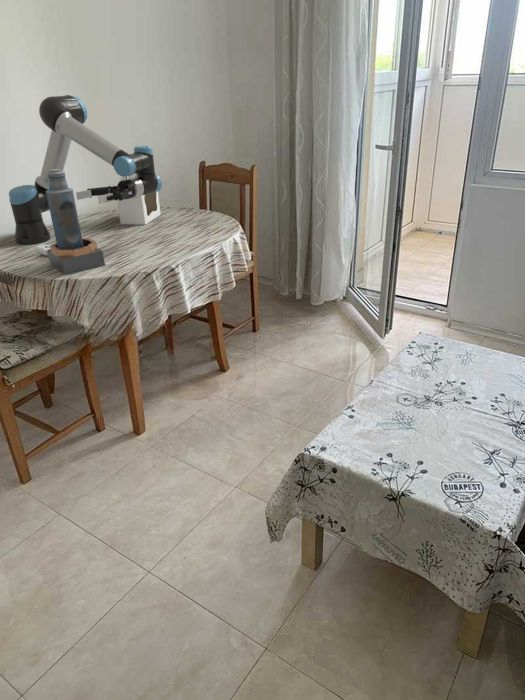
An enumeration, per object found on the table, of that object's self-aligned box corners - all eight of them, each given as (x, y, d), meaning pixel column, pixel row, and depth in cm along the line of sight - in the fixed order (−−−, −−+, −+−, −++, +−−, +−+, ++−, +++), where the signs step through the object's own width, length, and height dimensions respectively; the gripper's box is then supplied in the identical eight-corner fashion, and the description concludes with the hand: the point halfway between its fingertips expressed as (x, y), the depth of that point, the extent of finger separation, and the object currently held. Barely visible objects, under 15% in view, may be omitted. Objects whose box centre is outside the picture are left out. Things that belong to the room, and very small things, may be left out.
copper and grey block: (50, 264, 210) (45, 243, 206) (88, 256, 218) (85, 236, 214) (65, 274, 198) (60, 252, 194) (105, 265, 207) (101, 244, 203)
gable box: (137, 213, 284) (130, 159, 271) (160, 214, 281) (154, 159, 268) (120, 224, 264) (111, 166, 251) (145, 225, 262) (137, 166, 249)
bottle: (64, 254, 200) (47, 172, 186) (54, 249, 207) (37, 169, 193) (87, 249, 206) (73, 169, 192) (77, 244, 212) (62, 166, 199)
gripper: (151, 201, 215) (110, 211, 200) (111, 194, 228) (70, 204, 213) (149, 182, 211) (107, 191, 196) (109, 176, 224) (66, 185, 209)
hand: (87, 198), depth 205 cm, fingers open, 13 cm apart
